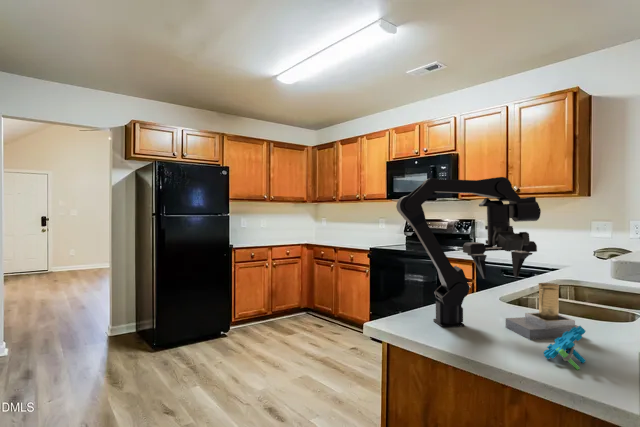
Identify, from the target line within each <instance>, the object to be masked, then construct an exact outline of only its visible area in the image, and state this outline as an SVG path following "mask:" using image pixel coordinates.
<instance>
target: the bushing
mask: <svg viewBox="0 0 640 427" xmlns="http://www.w3.org/2000/svg"><path fill="white" fill-rule="evenodd" d="M559 289H560V285H559V284H558V283H554V282H553V283H552V282H539V283H538V312H539V318H541V319H544V320H546V321H548V320H559V315H560V312H559V311H560V310H559V307H560V306H559V303H560V302H559V293H560V292H559Z"/></svg>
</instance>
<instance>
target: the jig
mask: <svg viewBox="0 0 640 427" xmlns="http://www.w3.org/2000/svg"><path fill="white" fill-rule="evenodd" d="M578 326H579V325H578V324H576V320H575V319H572V318H570V317H567V316H565V315H562V314H559V320H548V321H546V320H544V319H541V318H539V311H538V312H525V313H524V316H523V317H506V318H505V328H506V329H507V330H511V331H512V332H514V333H515V334H518V335H519V336H522V337H524V338H525V337H526V339H527V338H528V340H529V339H534V340H550V339H552V340H553V339H554V340H555V339H556V338H558V337H559V338H560V337H562V335H563V333H564V332H566V331H568V332H569V331H570V330H571V329H572V328H573V327H576V328H577V327H578ZM581 336H582V337H583V335H581Z"/></svg>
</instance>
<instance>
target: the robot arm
mask: <svg viewBox="0 0 640 427" xmlns="http://www.w3.org/2000/svg"><path fill="white" fill-rule="evenodd" d="M434 193H444V194H445V193H451V194H472V195H476V196H480V197H483V198H484V199H483V200H482V201H481V202H480V203H479V204H478V206H479V207H481V208H482V207H483V208H486V219H487V220H486V224H487V225H485V226H484V228H485V229H484V230H487V239H485V243H482V242H478V241H477V242H476V241H475V242H474V241H473V242H465V243H464V244H463V246H462V252H463V253H464V254H467V256H469V257H471V258H472V260H473V261H474V263H475V265H476V267H477V269H478V271H479V274H480V276H481V278H482V279H484V280H486V279H487V268H486V259H487V257H488V255H487V254H485V253H486V252H489V251H490V252H492V251H493V252H494V251H495V252H496V251H505V252H510V254H511V261H512V262H511V263H512V264H511V265H512V272H513V277H514V278H518V277H519V276H520V272H521V270H522V268H523V265H524V262H525V260H526V259H527V258H528V257H529V256H531V255H532V256H533V253H536V252H538V246H537V244H536V242H535V241H533V240H530V233H529V232H527V231H519V232H518V233H516V232H514V228H513V225H511V222H510V221H511V220H512V221H513V222H515V223H517V222H536V221H537V222H538V220H540V218H541V212H542V211H541V208H540V205H539V202H537V199H536V196H527V197H520V195H519V194H518V193H517V192H516V190H515V189H514V188H513V186H512V183H511V181H510V180H509V179H508V178H507V177H505V176H497V177H491V178H483V179H477V180H475V179H473V180H472V179H453V178H452V179H451V178H449V179H446V178H435V177H429V178H427V179H425V180H423V181H422V183H421V184H419V185H418V186H417V187H416V188H415V189H414V190H413V191H412V192H410V193H409V194H408V195H405V196H402V197H400V198H399V199H398V200H397V202H396V207H395V208H396V210H397V211H396V212H398V213H399V215H400V216H401V217H402V218H403V219H404V220H405V222H407V223H408V225H409V226H410V227H411V228H412V229H413V230H414V232H415V234H416V235H417V238H418V239H419V241H420V243H421V244H422V247H423V248H424V249H425V252H426V253H427V255H428V256H429V258H430V259H431V261H432V264H433V265H434V267H435V268H436V270H437V274H438V279H439V281H440V283H441V285H440V286H438V287H437V288H436V289H434V290H435V291H433V292H434V295H435V299H437V300H435V318H433V319H432V320H433V322H435V323H436V324H437V325H438V326H441V328H446V327H447V328H453V327H465V323H463V322H464V308H463V306H462V305H463V302H464V300H465V298H466V297H467V296H468V294H469V293H470V290H471V289H470V288H471V287H470V284H469V283H471V282H470V280H469V279H468V278H467V277H466V274H465V271H464V270H463V268H460V267H458V266H457V265H454V266H453V265H452V263H451V262H450V260H449V258H448V256H447V255H446V253H445V251H444V250H443V248H442V246H441V245H440V243H439V241H438V240H437V237H436V236H435V235H434V233H433V231H432V229H431V227H430V226H429V225H428V222H427V220H426V215H425V211H424V208H423V204H424V203H425V202H427V200H428V199H429V198H430V197H431V196H432V195H433V194H434ZM491 199H496V200H491ZM504 202H508V203H504ZM510 219H511V220H510Z"/></svg>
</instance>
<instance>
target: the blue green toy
mask: <svg viewBox="0 0 640 427" xmlns="http://www.w3.org/2000/svg"><path fill="white" fill-rule="evenodd" d="M577 326H578V327H577V328H576V327H573V328H572V329H571V330H570V331H569V332H568V331H566V332H564V333H563V335H562V337H560V338H559V337H558V338H555V339H554V340H553V341H554V343H550V344H549V345H548V346H547V349H545V350H544V352H543V355H544V358H546V359H547V360H549V359H550V358H551V359H555V358H556V357H557V356H558V355H559V356H561V358H562V360H563V361H564V362H568V363H569V364H570V365H571V366H572V367H574V369H575V370H577V371H578V370H580V368H581V367H580V366H579V365H578V364H577V363H576V362H575V361H574V360H573V359H572V356H574V357H575V358H576V360H577V361H579V362H580V363H581V364H584V363H585V362H586V359H585V358H584V357H583V356H582V355H581V354H580V353H579V352H578V351H577V350H576V349H575V343H574V342H575V341H577V342H578V341H581V340H582V338H583V335H584V334H585V333H586V330H585V328H584V327H583V326H581V325H577ZM581 335H582V336H581Z"/></svg>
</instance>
